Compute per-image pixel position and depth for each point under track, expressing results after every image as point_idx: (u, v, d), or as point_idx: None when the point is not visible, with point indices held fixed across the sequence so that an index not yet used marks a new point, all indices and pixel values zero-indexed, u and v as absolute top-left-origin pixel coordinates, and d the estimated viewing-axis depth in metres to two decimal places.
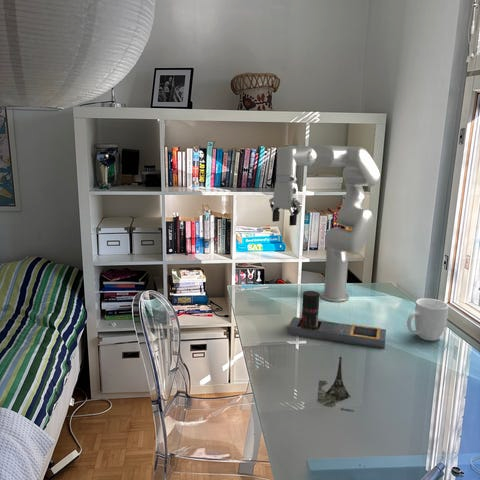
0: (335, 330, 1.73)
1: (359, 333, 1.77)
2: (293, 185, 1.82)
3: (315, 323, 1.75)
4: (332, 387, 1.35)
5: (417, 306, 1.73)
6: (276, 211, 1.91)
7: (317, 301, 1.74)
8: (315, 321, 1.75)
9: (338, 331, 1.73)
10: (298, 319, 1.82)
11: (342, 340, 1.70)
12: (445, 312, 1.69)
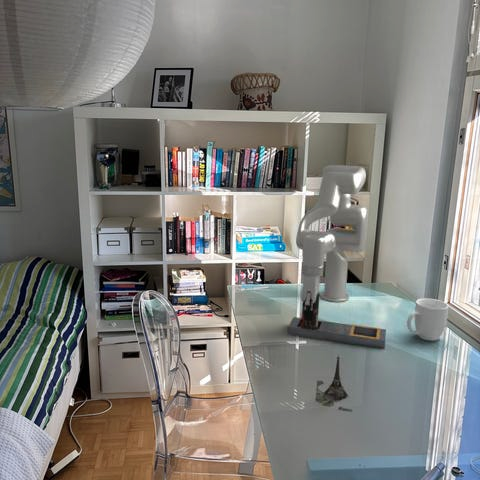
0: (335, 330, 1.73)
1: (359, 333, 1.77)
2: None
3: (315, 323, 1.75)
4: (330, 387, 1.35)
5: (417, 306, 1.73)
6: None
7: (317, 301, 1.74)
8: (315, 321, 1.75)
9: (338, 331, 1.73)
10: (298, 319, 1.82)
11: (342, 340, 1.70)
12: (445, 312, 1.69)
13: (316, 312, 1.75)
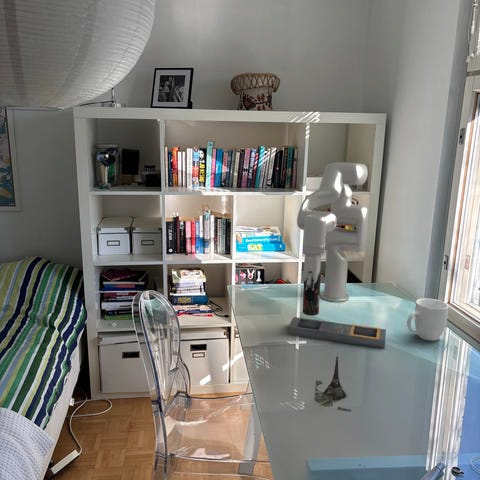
0: (335, 330, 1.73)
1: (359, 333, 1.77)
2: None
3: (316, 303, 1.74)
4: (329, 387, 1.35)
5: (417, 306, 1.73)
6: None
7: (318, 281, 1.73)
8: (316, 302, 1.74)
9: (338, 331, 1.73)
10: (298, 319, 1.82)
11: (342, 340, 1.70)
12: (445, 312, 1.69)
13: (317, 292, 1.74)
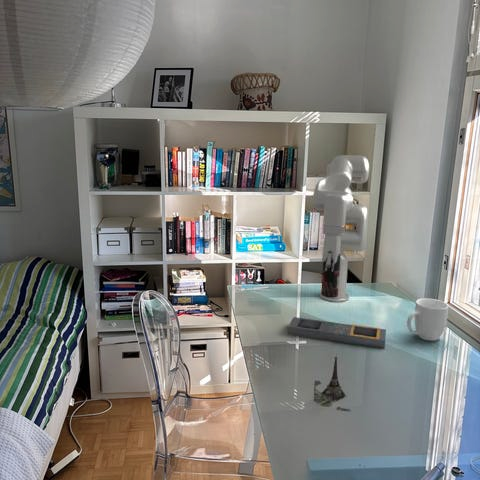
0: (335, 330, 1.73)
1: (359, 333, 1.77)
2: None
3: (336, 285, 1.70)
4: (328, 387, 1.35)
5: (417, 306, 1.73)
6: None
7: (338, 262, 1.69)
8: (336, 283, 1.70)
9: (338, 331, 1.73)
10: (298, 319, 1.82)
11: (342, 340, 1.70)
12: (445, 312, 1.69)
13: (337, 274, 1.69)
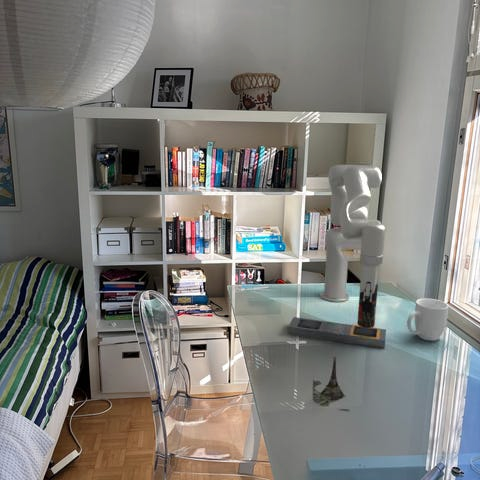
0: (335, 330, 1.73)
1: (359, 333, 1.77)
2: None
3: (373, 315, 1.68)
4: (327, 387, 1.35)
5: (417, 306, 1.73)
6: None
7: (376, 292, 1.67)
8: (373, 313, 1.68)
9: (338, 331, 1.73)
10: (298, 319, 1.82)
11: (342, 340, 1.70)
12: (445, 312, 1.69)
13: (374, 304, 1.67)
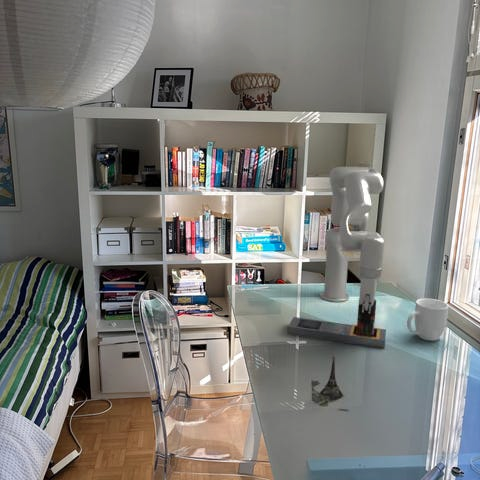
0: (335, 330, 1.73)
1: None
2: None
3: (371, 330, 1.70)
4: (326, 387, 1.35)
5: (417, 306, 1.73)
6: None
7: (374, 308, 1.68)
8: (372, 329, 1.69)
9: (338, 331, 1.73)
10: (298, 319, 1.82)
11: (342, 340, 1.70)
12: (445, 312, 1.69)
13: (373, 319, 1.69)
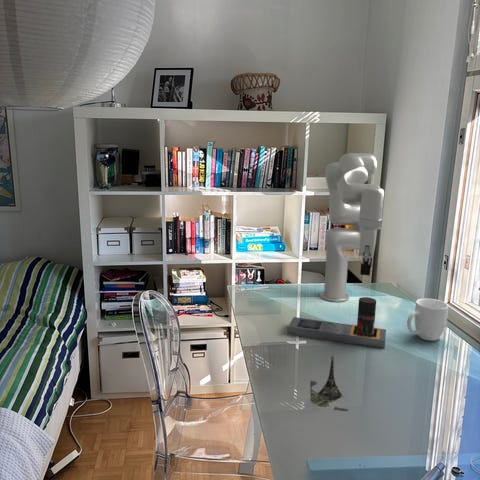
0: (335, 330, 1.73)
1: None
2: None
3: (371, 330, 1.70)
4: (324, 387, 1.35)
5: (417, 306, 1.73)
6: None
7: (374, 308, 1.68)
8: (371, 329, 1.69)
9: (338, 331, 1.73)
10: (298, 319, 1.82)
11: (342, 340, 1.70)
12: (445, 312, 1.69)
13: (373, 319, 1.69)
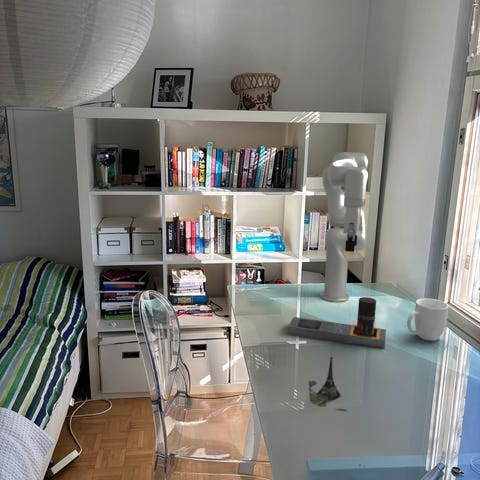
0: (335, 330, 1.73)
1: None
2: None
3: (371, 330, 1.70)
4: (323, 387, 1.35)
5: (417, 306, 1.73)
6: None
7: (374, 308, 1.68)
8: (371, 329, 1.69)
9: (338, 331, 1.73)
10: (298, 319, 1.82)
11: (342, 340, 1.70)
12: (445, 312, 1.69)
13: (373, 319, 1.69)
